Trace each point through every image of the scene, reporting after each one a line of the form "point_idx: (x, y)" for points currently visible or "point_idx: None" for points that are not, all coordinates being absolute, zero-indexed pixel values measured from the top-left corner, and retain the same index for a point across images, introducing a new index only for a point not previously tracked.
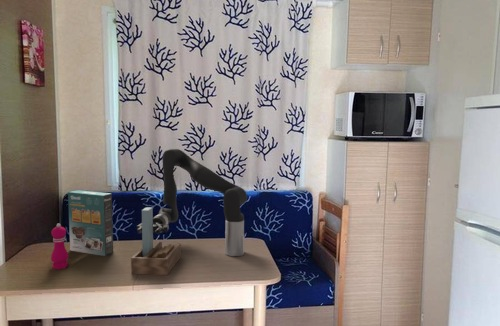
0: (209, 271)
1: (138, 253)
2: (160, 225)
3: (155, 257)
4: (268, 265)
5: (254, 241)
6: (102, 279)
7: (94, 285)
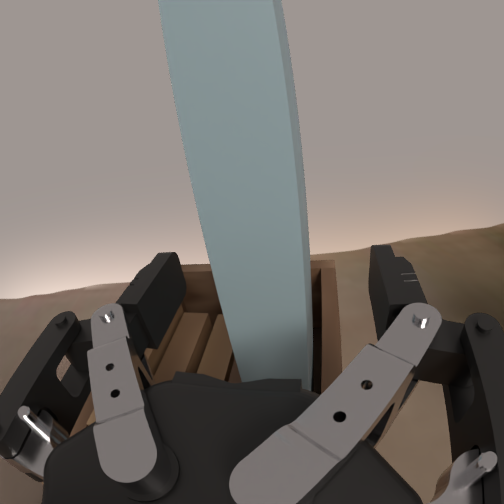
0: None
1: (323, 305)
2: (94, 349)
3: (222, 317)
4: None
5: None
6: None
7: (398, 246)
